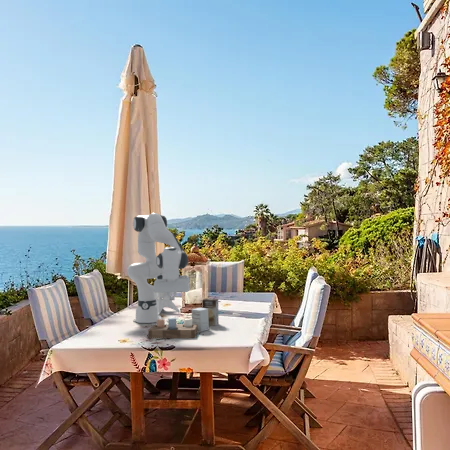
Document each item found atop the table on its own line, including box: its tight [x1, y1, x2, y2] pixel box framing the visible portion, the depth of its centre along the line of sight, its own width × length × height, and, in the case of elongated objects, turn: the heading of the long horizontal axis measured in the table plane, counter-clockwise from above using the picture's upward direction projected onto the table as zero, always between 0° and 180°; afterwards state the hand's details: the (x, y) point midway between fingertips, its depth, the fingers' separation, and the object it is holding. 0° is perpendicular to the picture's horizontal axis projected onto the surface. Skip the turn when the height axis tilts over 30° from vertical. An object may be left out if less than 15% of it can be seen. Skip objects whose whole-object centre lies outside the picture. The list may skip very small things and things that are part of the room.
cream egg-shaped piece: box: [183, 318, 192, 327], centre depth 288 cm, size 5×5×6 cm
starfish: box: [155, 292, 180, 315], centre depth 364 cm, size 20×20×20 cm
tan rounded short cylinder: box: [156, 319, 166, 327], centre depth 289 cm, size 5×5×6 cm
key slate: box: [167, 317, 178, 330], centre depth 281 cm, size 5×5×6 cm
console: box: [147, 324, 199, 339], centre depth 285 cm, size 15×26×4 cm, turn 87°
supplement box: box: [191, 307, 210, 333], centre depth 297 cm, size 7×7×13 cm
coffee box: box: [201, 298, 220, 327], centre depth 312 cm, size 9×6×16 cm
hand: (171, 300), depth 281 cm, fingers closed
